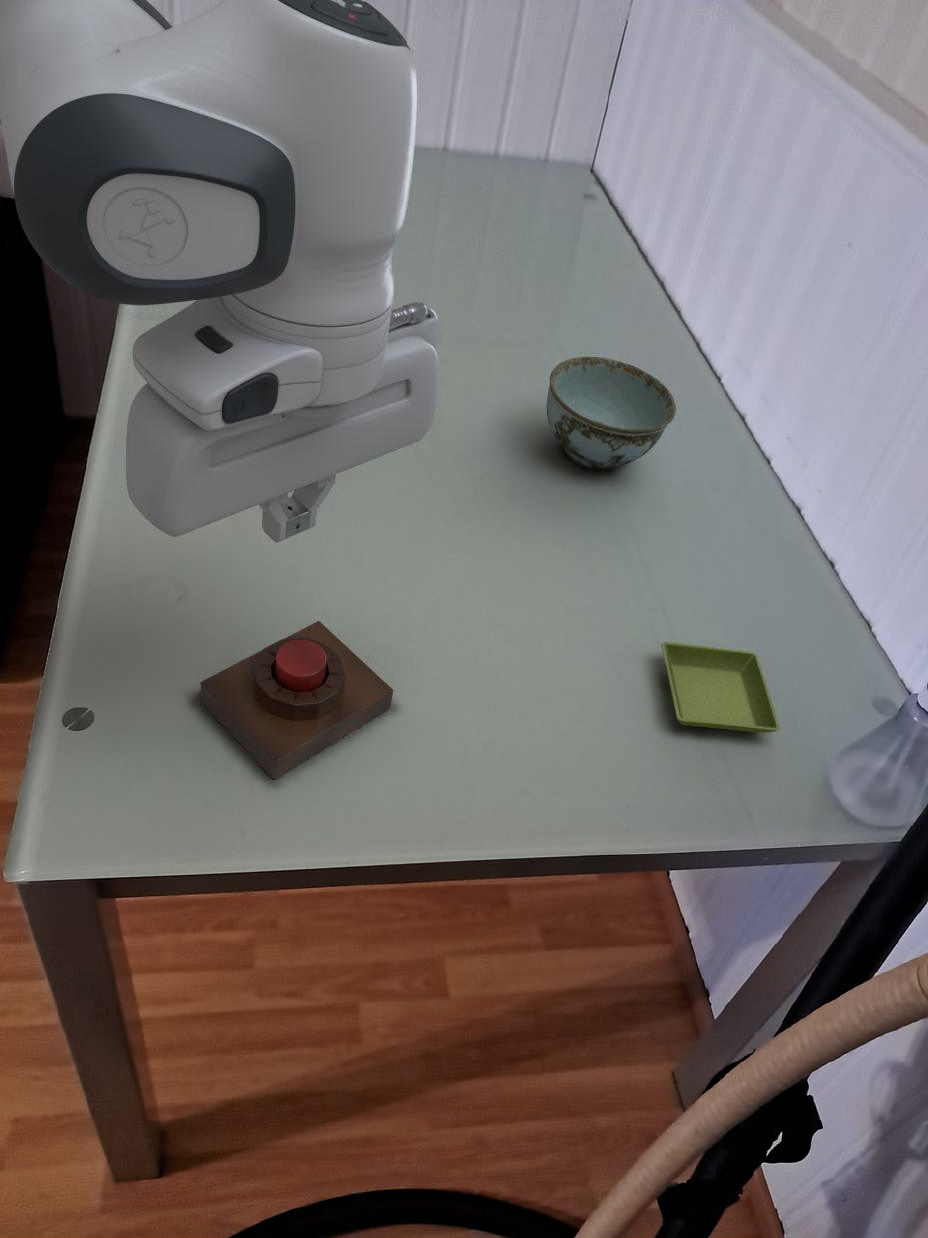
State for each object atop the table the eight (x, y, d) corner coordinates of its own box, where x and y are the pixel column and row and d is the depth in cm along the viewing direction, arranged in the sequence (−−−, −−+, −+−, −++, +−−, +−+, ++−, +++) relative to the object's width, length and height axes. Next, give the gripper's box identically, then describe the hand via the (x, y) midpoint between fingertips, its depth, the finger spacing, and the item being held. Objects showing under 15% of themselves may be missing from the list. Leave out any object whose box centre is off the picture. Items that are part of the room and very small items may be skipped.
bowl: (523, 412, 108) (540, 348, 102) (636, 424, 110) (658, 362, 105) (541, 487, 98) (560, 422, 93) (665, 498, 101) (691, 435, 95)
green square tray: (669, 735, 77) (677, 719, 76) (653, 656, 83) (660, 640, 82) (770, 746, 78) (781, 731, 77) (747, 668, 85) (756, 652, 83)
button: (295, 700, 68) (296, 684, 67) (264, 669, 70) (265, 653, 69) (334, 677, 71) (336, 661, 69) (304, 648, 72) (305, 632, 71)
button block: (274, 780, 68) (276, 746, 65) (200, 701, 71) (199, 665, 69) (390, 708, 74) (396, 674, 71) (316, 639, 78) (320, 604, 75)
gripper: (407, 272, 59) (378, 455, 69) (101, 348, 47) (117, 558, 57) (478, 320, 57) (438, 503, 66) (174, 414, 44) (178, 622, 54)
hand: (288, 529), depth 61 cm, fingers closed
